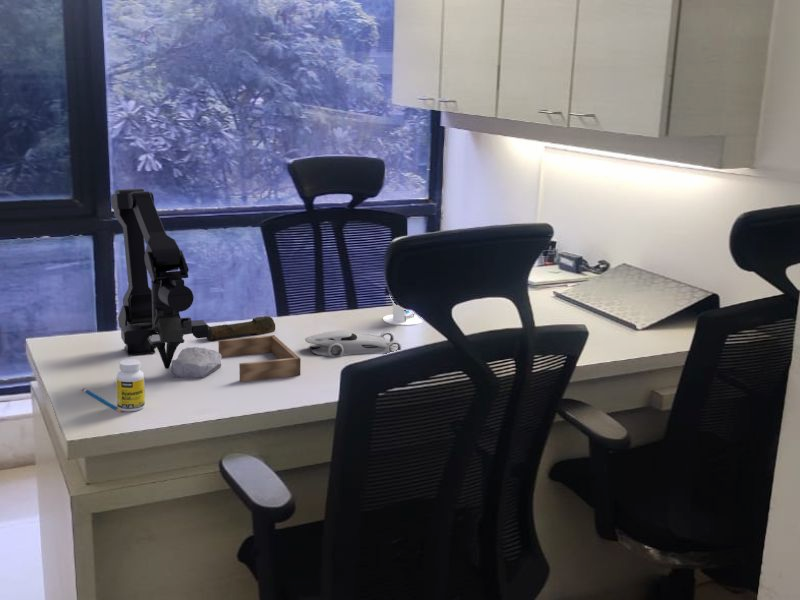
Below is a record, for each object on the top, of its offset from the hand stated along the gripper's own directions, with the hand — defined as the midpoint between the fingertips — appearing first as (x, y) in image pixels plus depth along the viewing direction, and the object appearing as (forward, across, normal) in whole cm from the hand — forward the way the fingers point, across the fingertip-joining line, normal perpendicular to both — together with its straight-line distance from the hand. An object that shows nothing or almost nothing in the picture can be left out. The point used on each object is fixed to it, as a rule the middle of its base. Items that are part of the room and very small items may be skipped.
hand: (166, 368), depth 203 cm
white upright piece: (+1, +71, +27) cm, 76 cm away
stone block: (+2, +8, +1) cm, 8 cm away
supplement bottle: (+2, -10, -18) cm, 21 cm away
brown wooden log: (+2, +24, +26) cm, 36 cm away
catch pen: (+2, +21, 0) cm, 21 cm away
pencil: (+2, -16, -12) cm, 20 cm away
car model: (+2, +47, +5) cm, 48 cm away
